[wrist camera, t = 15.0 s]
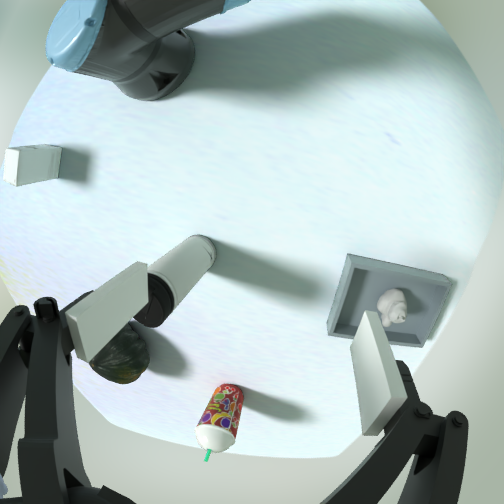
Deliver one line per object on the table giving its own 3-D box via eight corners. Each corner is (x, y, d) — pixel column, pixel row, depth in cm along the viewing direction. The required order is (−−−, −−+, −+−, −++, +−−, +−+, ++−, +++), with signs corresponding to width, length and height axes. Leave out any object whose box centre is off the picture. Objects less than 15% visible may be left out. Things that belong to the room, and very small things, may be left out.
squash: (129, 388, 57) (117, 404, 43) (86, 348, 56) (64, 353, 42) (162, 348, 62) (157, 356, 48) (118, 308, 61) (102, 304, 47)
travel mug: (223, 244, 45) (170, 302, 27) (207, 275, 48) (154, 341, 29) (191, 226, 45) (123, 270, 27) (178, 257, 48) (112, 312, 29)
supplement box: (63, 146, 45) (19, 150, 33) (58, 178, 48) (16, 188, 36) (46, 143, 46) (5, 147, 34) (42, 173, 48) (2, 181, 36)
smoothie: (225, 373, 55) (196, 446, 37) (255, 392, 56) (236, 465, 37) (207, 389, 58) (177, 455, 40) (235, 406, 59) (213, 472, 40)
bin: (347, 253, 42) (351, 262, 38) (442, 274, 40) (452, 283, 36) (326, 322, 47) (327, 335, 43) (416, 335, 44) (422, 347, 41)
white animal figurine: (408, 287, 41) (424, 311, 34) (393, 319, 43) (405, 345, 36) (382, 280, 42) (395, 303, 34) (368, 313, 44) (377, 340, 37)
